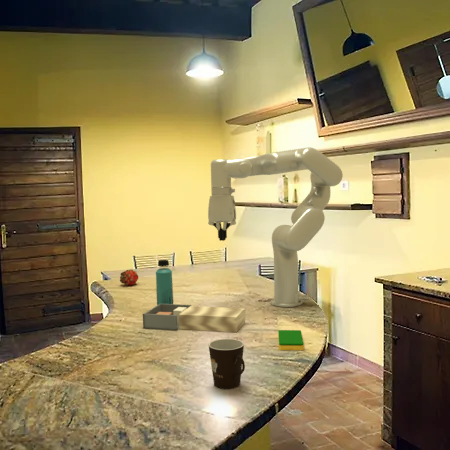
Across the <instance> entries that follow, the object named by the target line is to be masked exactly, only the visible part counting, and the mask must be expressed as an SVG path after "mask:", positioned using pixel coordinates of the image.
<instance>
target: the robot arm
mask: <svg viewBox="0 0 450 450" xmlns="http://www.w3.org/2000/svg"><path fill="white" fill-rule="evenodd" d="M305 170H307V171H309V172H310V178H309V179H310V184H311V187H310V191H309V193H308V195H307V196H306V197H305V198H304V199H303V200H302V201H301V202H300V204H299V205H298V206H297V207H296V208H294V211H293V212H292V214H291V217H290V220H291V223H292V225H291V224H290V225H289V224H281V225H278V226H277V227H275V229H273V232H272V234H271V245H272V249H273V251H272V252H273V279H274V281H273V284H274V285H273V287H274V288H273V291H274V296H273V297H274V298H272V299H271V300H270V305H272V306H275V307H281V308H292V307H293V308H294V307H299V306H302V304H303V301H310V295H307V294H301V291H299V257H298V252H299V251H301V250H303V249H304V248H306V246H308V244H309V243H310V242H311V241H312V240H313V238H314V237H315V236H317V234H318V233H319V231H320V230H321V229H322V227H323V225H324V223H325V218H326V216H325V213H324V209H325V208H326V207H327V205H328V204H329V202H330V200H331V187H335V186H337V185H339V184H340V183H341V182H342V180H343V177H344V176H343V171H342V168H341V167H340V166H339V165H337V164H336V163H335V162H334V161H332V160H331V159H330V158H329V157H327V155H325V154H323V153H322V152H321V151H320V150H318V149H316V148H314V147H303V148H295V149H289V150H282V151H281V150H280V151H274V152H269V153H265V154H261V155H256V156H251V157H243V158H234V159H225V158H224V159H223V158H221V159H218V158H217V159H212V160H211V162H210V183H211V184H210V185H211V187H210V188H211V189H210V190H211V195H210V196H209V199H208V208H207V211H208V212H207V214H208V215H207V217H208V225H209V226H213V227H214V228H215V229H216V230H217V238H218V239H219V241H223V242H224V241H226V239H227V238H228V236H227V235H228V233H227V231H228V229H229V227H231V226H235V225H236V224H237V222H236V219H237V211H236V210H237V209H236V202H235V196H234V195H233V193H236V189H235V188H233V187H232V179H246V178H248V177H254V176H272V175H278V174H286V173H292V172H298V171H305ZM222 223H223V224H222Z"/></svg>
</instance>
